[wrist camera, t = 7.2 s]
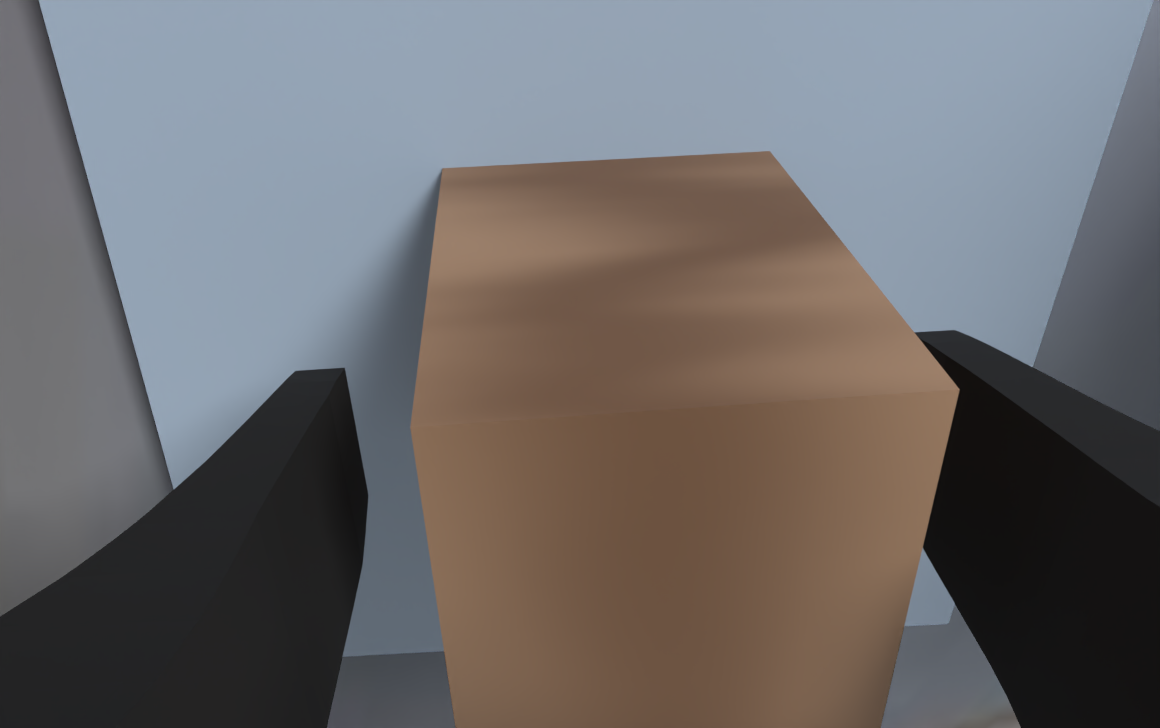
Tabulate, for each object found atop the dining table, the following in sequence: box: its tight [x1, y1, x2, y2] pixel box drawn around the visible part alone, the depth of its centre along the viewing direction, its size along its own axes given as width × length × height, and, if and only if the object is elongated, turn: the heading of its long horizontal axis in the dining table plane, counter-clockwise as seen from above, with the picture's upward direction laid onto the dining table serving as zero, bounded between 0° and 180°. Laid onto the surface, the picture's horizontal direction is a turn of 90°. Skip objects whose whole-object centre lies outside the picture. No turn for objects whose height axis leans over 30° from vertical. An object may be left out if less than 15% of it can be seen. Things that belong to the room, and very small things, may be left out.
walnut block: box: [410, 151, 960, 728], centre depth 11 cm, size 4×4×6 cm
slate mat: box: [39, 0, 1153, 657], centre depth 14 cm, size 14×14×1 cm
